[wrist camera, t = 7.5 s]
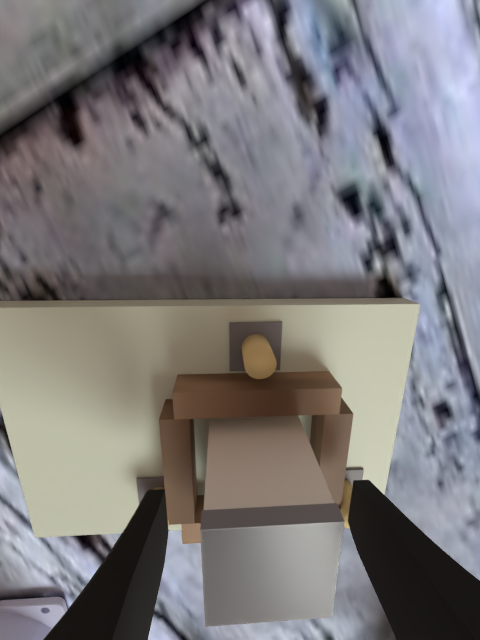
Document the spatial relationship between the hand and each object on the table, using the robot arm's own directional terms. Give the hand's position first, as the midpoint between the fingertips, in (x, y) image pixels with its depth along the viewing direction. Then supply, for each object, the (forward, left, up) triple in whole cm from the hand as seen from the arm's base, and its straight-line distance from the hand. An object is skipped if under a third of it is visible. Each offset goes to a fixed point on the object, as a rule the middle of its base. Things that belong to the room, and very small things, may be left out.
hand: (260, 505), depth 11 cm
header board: (-2, +1, -4) cm, 5 cm away
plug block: (0, 0, -3) cm, 3 cm away
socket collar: (0, 0, -3) cm, 3 cm away
